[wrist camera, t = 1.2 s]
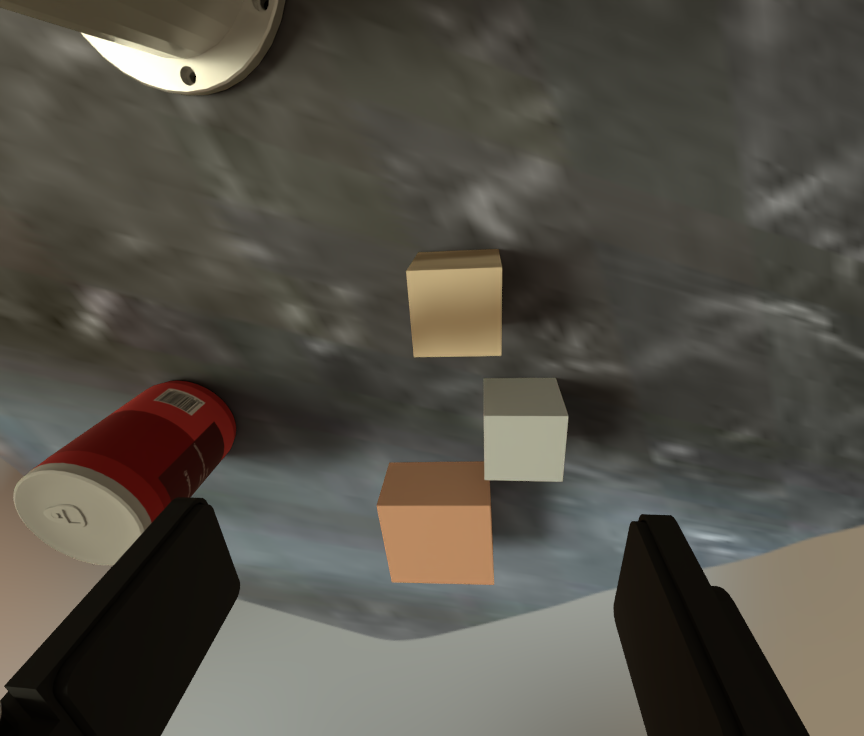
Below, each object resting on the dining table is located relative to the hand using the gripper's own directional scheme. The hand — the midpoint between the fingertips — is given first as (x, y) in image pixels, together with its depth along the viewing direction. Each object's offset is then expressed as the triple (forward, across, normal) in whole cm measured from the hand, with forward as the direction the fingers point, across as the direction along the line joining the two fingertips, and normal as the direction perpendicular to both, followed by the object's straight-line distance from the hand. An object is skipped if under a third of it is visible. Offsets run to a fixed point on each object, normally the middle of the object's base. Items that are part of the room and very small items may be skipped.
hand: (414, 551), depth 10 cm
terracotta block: (+21, +2, +18) cm, 27 cm away
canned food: (+21, +22, +10) cm, 32 cm away
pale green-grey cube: (+21, -4, +9) cm, 23 cm away
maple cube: (+21, 0, 0) cm, 21 cm away
